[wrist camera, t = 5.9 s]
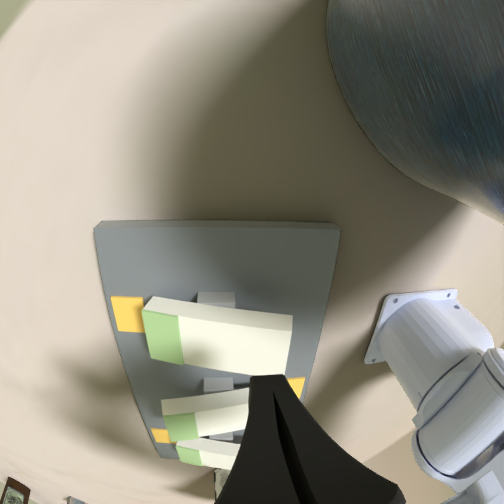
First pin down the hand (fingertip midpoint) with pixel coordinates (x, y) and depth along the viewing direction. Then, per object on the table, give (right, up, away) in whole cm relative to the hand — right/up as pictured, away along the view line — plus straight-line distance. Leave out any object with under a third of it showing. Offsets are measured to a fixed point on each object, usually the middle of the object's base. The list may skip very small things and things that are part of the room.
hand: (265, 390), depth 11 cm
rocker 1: (-3, 0, +7) cm, 7 cm away
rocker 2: (-3, -8, +10) cm, 13 cm away
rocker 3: (-4, -15, +13) cm, 21 cm away
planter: (+15, +21, +4) cm, 26 cm away
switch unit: (-4, -6, +14) cm, 15 cm away
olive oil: (-82, -75, +35) cm, 117 cm away
